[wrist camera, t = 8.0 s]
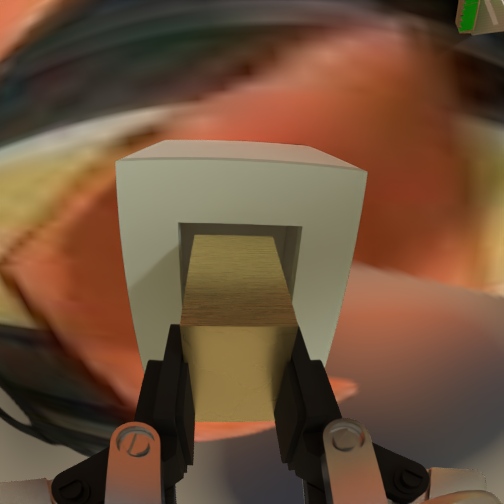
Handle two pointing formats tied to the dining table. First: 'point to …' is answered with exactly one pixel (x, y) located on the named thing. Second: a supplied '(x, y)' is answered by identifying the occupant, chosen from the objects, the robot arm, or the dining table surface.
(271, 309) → the tan wooden block
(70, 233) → the dining table surface
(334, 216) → the box
